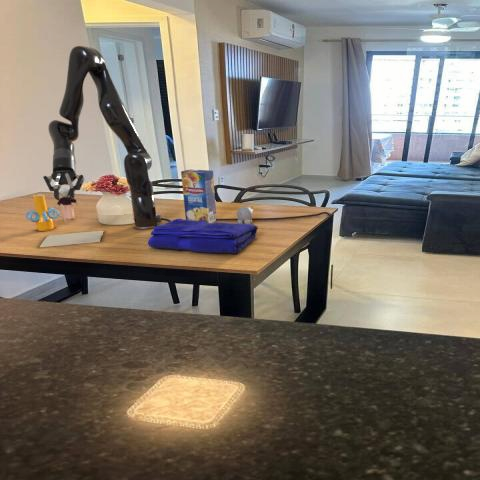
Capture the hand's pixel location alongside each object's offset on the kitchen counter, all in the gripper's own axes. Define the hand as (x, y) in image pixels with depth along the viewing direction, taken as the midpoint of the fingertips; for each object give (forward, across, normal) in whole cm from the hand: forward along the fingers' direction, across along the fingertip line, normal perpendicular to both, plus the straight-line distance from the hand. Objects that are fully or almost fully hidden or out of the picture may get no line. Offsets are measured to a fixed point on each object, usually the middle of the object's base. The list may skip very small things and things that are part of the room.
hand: (64, 198), depth 147 cm
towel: (+27, +49, -3) cm, 56 cm away
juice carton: (+5, +51, +20) cm, 55 cm away
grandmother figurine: (+5, 0, +8) cm, 10 cm away
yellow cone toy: (-2, -13, +27) cm, 30 cm away
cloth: (+11, 0, +13) cm, 17 cm away
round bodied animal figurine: (+11, +71, +13) cm, 73 cm away
